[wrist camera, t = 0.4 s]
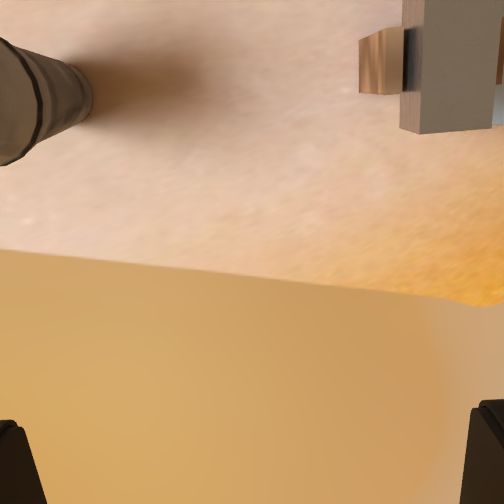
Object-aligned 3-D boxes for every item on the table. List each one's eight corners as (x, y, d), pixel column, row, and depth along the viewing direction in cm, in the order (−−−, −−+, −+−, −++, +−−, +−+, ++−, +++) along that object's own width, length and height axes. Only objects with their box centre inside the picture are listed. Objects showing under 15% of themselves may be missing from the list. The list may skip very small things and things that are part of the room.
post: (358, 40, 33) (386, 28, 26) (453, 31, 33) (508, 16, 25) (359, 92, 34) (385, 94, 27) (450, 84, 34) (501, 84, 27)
